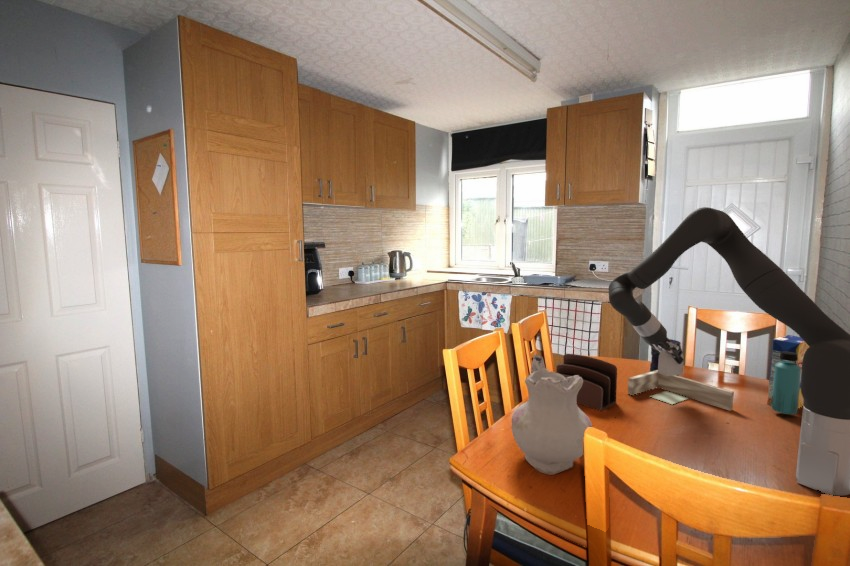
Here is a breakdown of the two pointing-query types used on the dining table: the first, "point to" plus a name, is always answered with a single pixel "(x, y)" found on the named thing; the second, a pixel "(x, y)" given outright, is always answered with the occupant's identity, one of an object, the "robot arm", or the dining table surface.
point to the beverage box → (790, 345)
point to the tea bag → (669, 364)
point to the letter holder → (592, 380)
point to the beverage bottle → (786, 384)
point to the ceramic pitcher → (550, 420)
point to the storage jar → (657, 357)
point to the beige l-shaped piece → (680, 389)
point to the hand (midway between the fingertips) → (675, 360)
